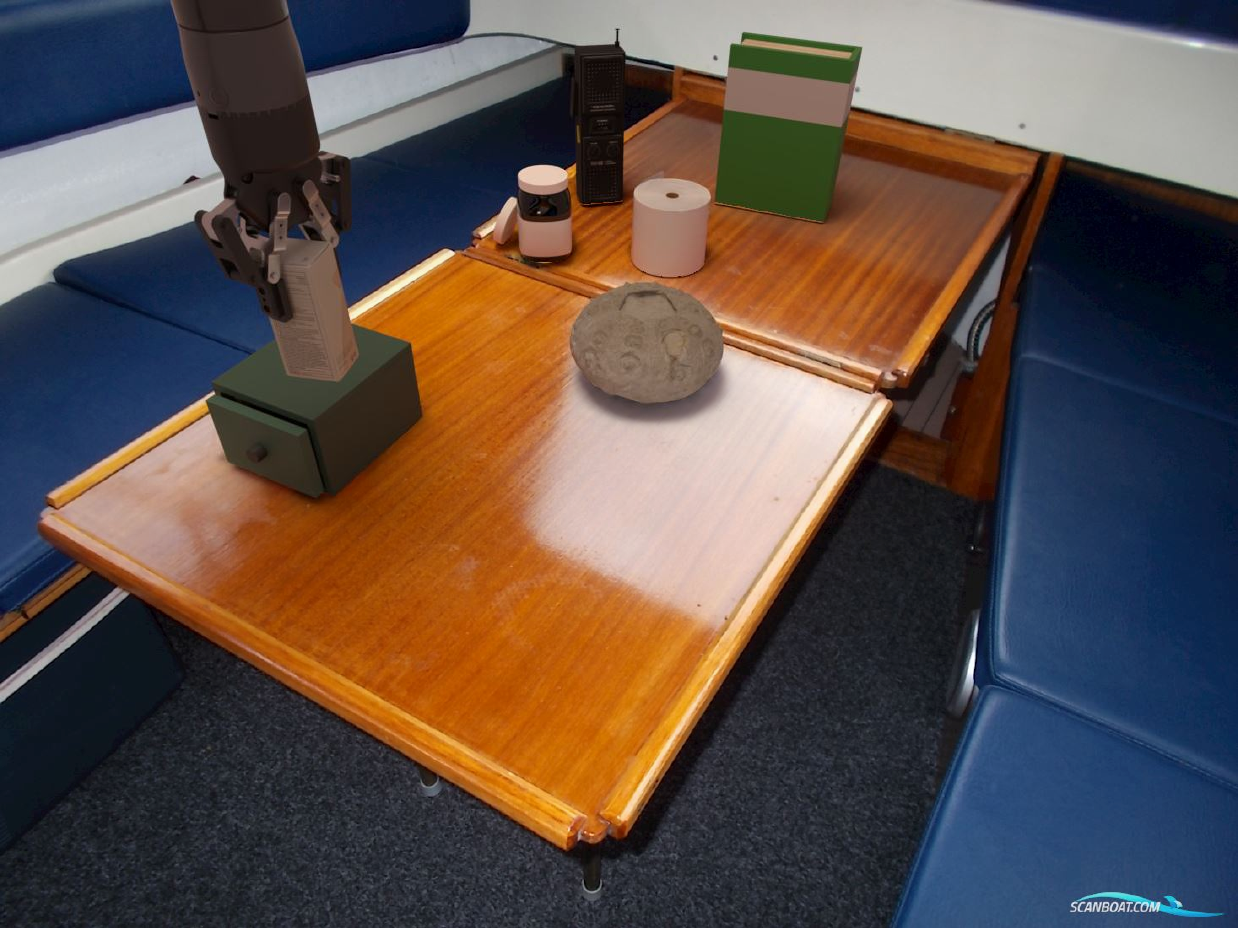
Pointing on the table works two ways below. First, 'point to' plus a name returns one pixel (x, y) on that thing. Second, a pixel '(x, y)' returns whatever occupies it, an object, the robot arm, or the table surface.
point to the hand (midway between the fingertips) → (305, 301)
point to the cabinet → (337, 401)
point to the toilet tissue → (669, 226)
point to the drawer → (267, 444)
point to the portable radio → (599, 121)
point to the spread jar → (539, 215)
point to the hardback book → (785, 124)
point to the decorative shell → (647, 342)
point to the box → (314, 314)
